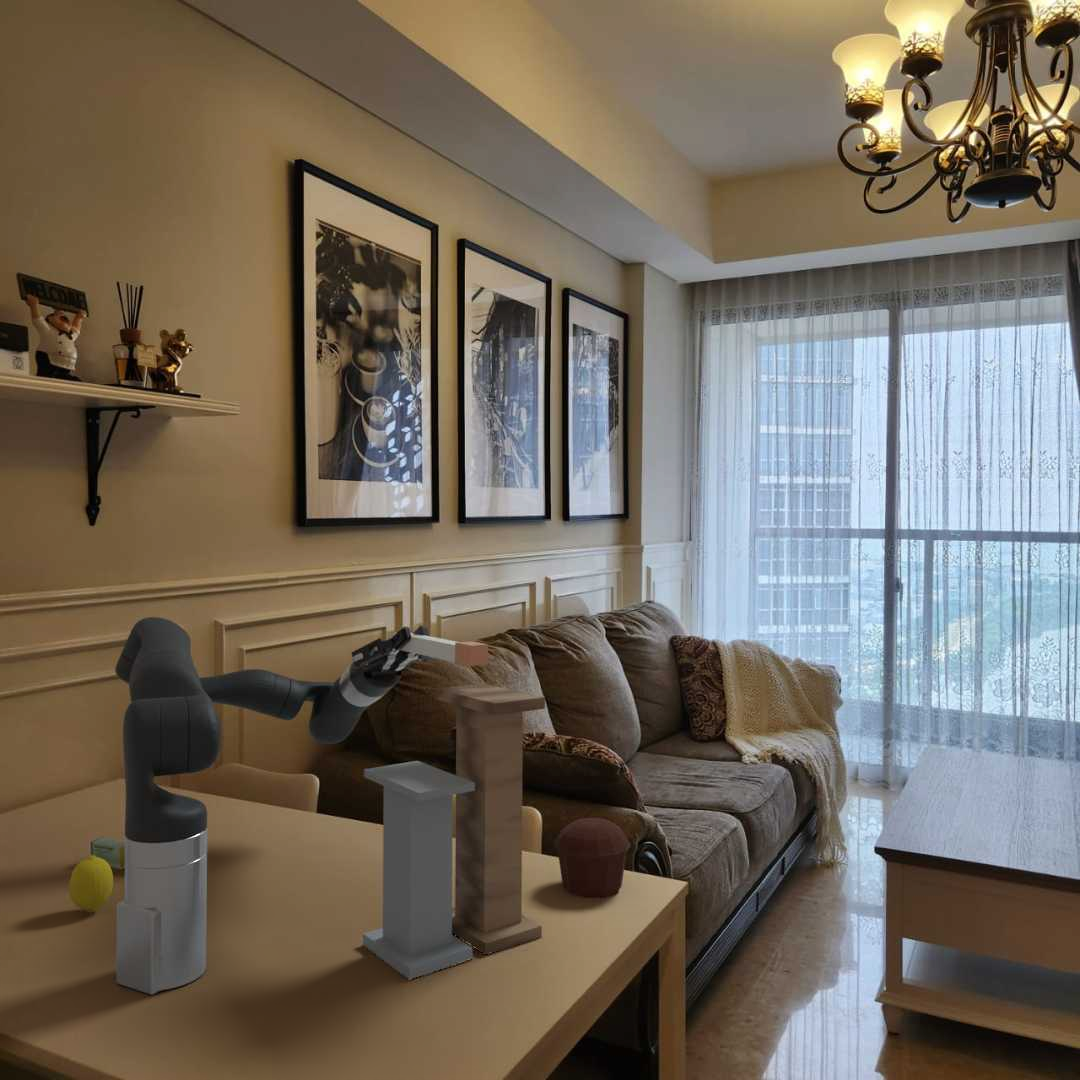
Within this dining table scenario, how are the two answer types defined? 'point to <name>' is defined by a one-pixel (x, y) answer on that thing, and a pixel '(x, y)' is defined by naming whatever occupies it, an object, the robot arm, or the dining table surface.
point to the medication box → (109, 851)
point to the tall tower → (490, 816)
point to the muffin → (592, 857)
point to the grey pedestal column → (417, 869)
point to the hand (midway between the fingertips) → (416, 631)
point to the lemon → (91, 883)
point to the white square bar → (448, 650)
